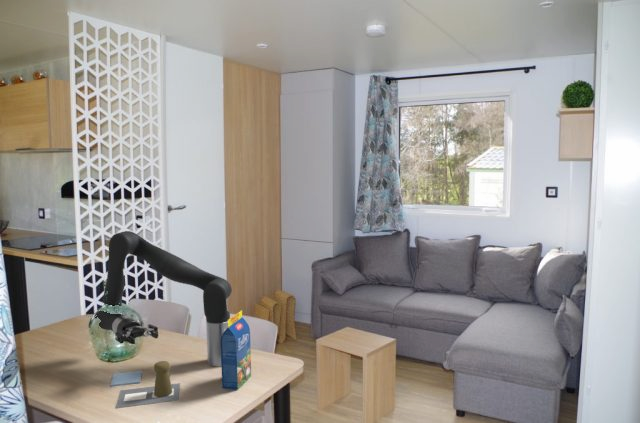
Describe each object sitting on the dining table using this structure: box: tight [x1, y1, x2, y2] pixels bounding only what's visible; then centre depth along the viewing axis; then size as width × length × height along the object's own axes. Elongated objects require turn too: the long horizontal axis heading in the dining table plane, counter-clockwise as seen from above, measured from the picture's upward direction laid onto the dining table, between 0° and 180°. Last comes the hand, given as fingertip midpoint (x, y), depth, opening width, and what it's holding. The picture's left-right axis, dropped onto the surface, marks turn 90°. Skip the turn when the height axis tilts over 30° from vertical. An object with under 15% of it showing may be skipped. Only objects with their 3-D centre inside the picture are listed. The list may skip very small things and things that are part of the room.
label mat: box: [115, 382, 181, 409], centre depth 171 cm, size 20×13×1 cm, turn 105°
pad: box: [109, 370, 143, 387], centre depth 184 cm, size 10×10×1 cm
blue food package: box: [220, 309, 252, 391], centre depth 179 cm, size 6×12×25 cm, turn 165°
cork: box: [153, 360, 172, 397], centre depth 172 cm, size 6×6×11 cm
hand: (145, 338), depth 178 cm, fingers open, 8 cm apart
